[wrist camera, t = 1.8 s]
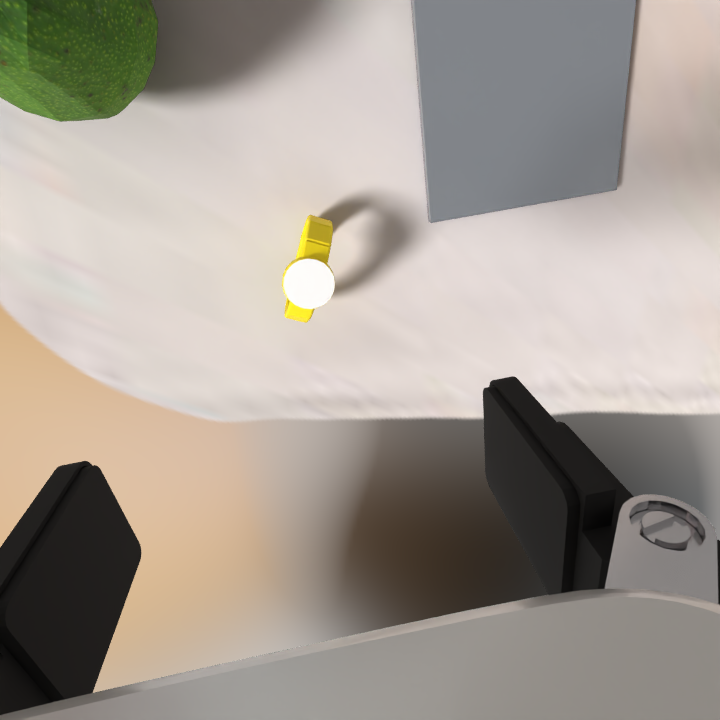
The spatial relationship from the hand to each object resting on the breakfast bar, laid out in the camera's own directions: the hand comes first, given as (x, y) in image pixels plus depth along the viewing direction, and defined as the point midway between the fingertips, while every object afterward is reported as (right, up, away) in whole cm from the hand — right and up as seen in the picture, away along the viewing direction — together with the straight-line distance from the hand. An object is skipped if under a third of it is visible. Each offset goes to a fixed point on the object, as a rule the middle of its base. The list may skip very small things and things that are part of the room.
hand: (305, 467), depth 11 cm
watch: (-2, +9, +18) cm, 21 cm away
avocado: (-12, +19, +12) cm, 26 cm away
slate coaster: (+11, +18, +15) cm, 26 cm away
